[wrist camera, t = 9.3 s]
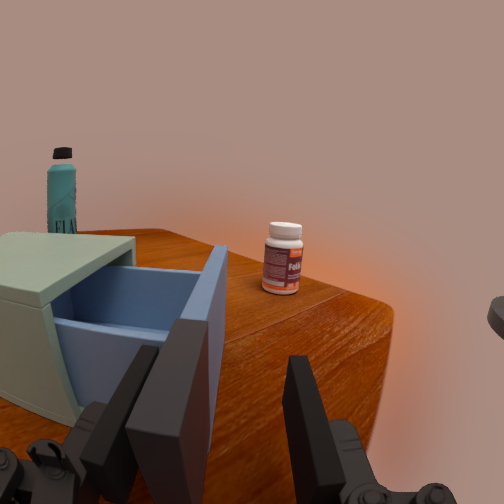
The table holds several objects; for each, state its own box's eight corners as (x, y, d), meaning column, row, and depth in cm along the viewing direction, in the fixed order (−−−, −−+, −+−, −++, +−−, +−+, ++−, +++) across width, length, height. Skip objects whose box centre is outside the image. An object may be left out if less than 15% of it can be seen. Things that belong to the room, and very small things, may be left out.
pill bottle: (292, 298, 35) (299, 228, 33) (256, 290, 37) (260, 223, 35) (302, 286, 39) (309, 224, 37) (269, 280, 41) (274, 220, 39)
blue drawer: (226, 337, 24) (229, 245, 22) (202, 543, 7) (179, 436, 5) (80, 320, 24) (71, 237, 22) (-38, 444, 6) (-100, 317, 4)
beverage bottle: (53, 254, 45) (52, 145, 40) (45, 248, 49) (44, 149, 44) (82, 249, 50) (83, 145, 46) (71, 243, 54) (72, 149, 49)
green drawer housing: (141, 332, 24) (135, 236, 22) (80, 430, 12) (38, 291, 10) (24, 310, 24) (13, 231, 22) (-50, 366, 12) (-80, 264, 10)
